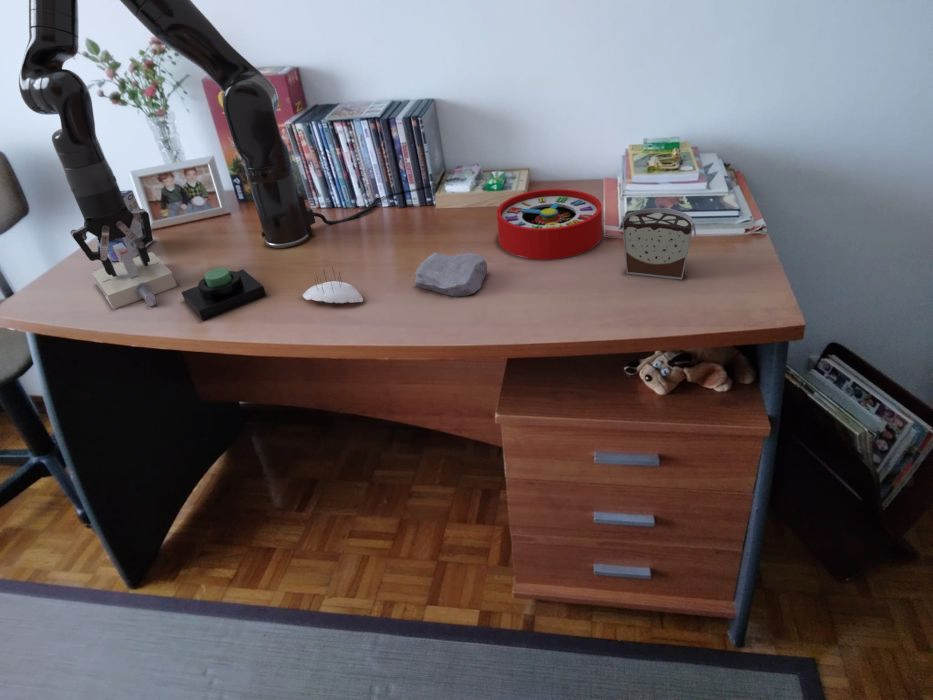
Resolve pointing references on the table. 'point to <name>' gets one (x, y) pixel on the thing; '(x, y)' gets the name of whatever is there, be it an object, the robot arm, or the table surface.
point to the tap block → (133, 281)
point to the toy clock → (549, 223)
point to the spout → (145, 293)
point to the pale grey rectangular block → (126, 260)
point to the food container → (657, 242)
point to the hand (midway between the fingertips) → (129, 269)
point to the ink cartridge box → (135, 228)
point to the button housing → (223, 295)
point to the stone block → (452, 274)
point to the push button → (217, 277)
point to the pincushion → (333, 292)
